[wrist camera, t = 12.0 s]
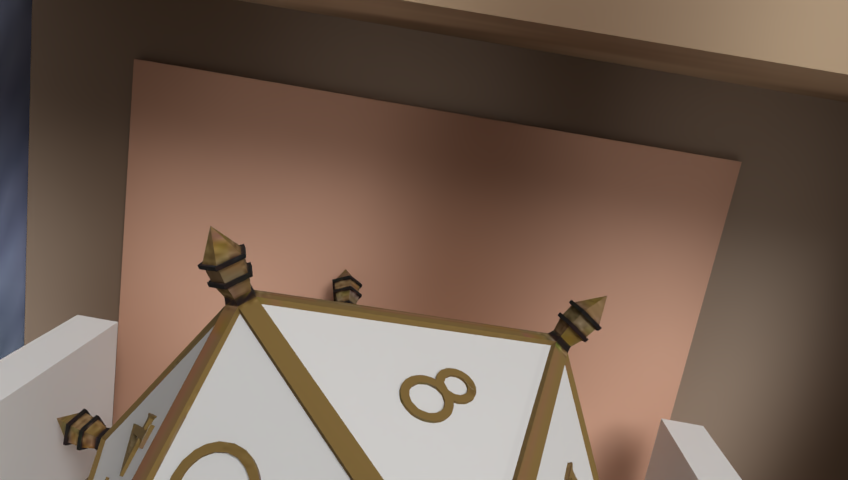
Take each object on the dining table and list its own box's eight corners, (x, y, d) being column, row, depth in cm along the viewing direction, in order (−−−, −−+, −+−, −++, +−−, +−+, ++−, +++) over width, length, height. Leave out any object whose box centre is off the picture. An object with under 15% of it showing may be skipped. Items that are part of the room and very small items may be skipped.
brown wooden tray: (31, 626, 15) (-140, 838, 11) (52, -99, 12) (-191, -212, 7) (783, 768, 15) (915, 1044, 11) (1047, 66, 11) (1412, 50, 7)
